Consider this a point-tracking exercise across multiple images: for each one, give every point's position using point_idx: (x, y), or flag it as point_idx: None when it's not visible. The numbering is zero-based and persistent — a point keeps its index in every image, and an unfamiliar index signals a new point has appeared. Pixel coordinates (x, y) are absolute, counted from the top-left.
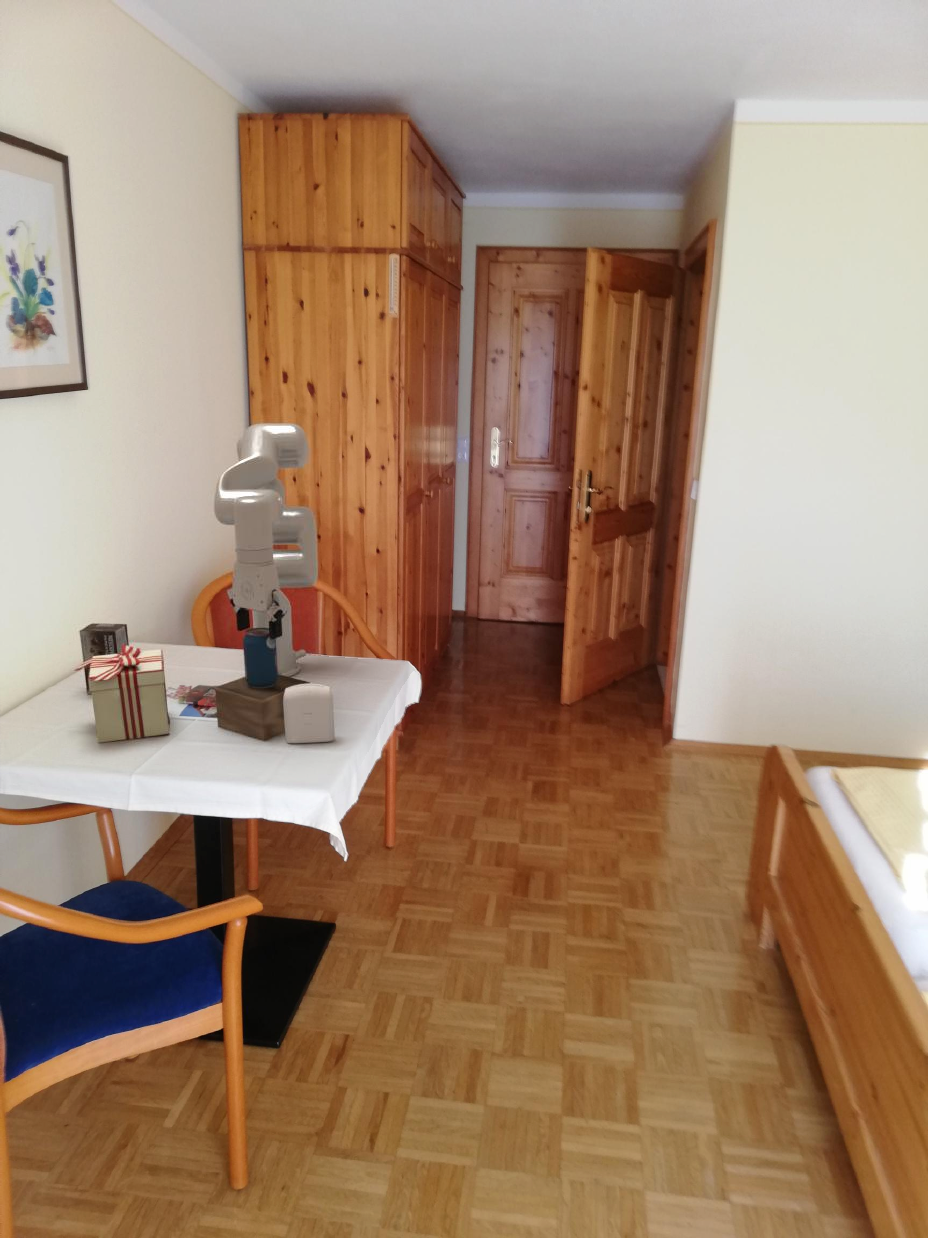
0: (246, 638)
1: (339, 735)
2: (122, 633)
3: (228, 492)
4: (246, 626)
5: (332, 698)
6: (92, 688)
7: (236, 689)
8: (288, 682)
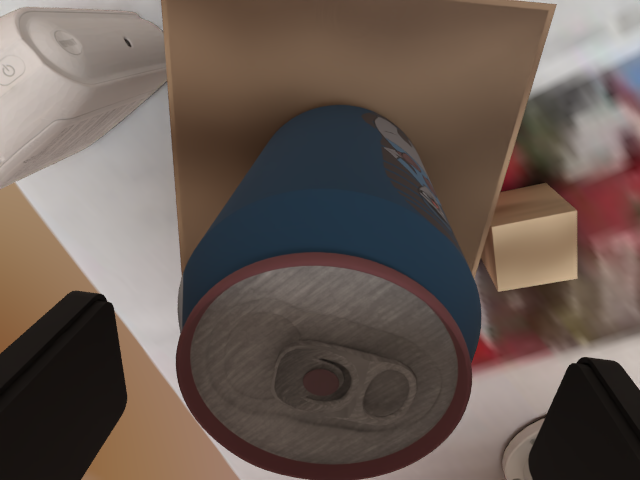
0: (375, 229)
1: (73, 164)
2: None
3: None
4: (550, 450)
5: None
6: None
7: (409, 50)
8: None
